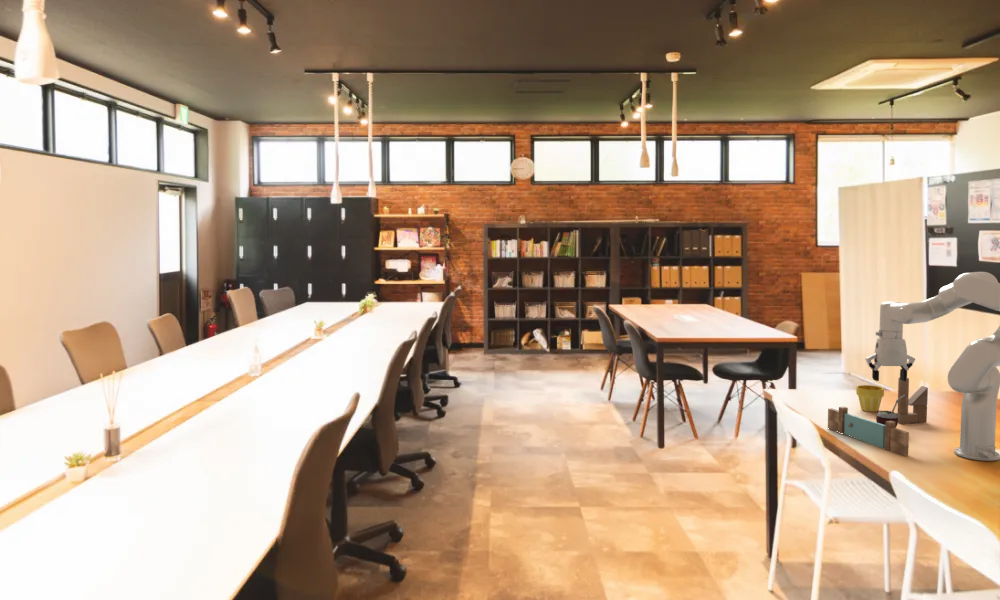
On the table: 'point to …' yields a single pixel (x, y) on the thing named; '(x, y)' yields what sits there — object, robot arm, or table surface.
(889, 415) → the mate gourd
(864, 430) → the door
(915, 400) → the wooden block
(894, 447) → the gate frame
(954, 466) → the table surface
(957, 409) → the table surface
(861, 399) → the plant pot
